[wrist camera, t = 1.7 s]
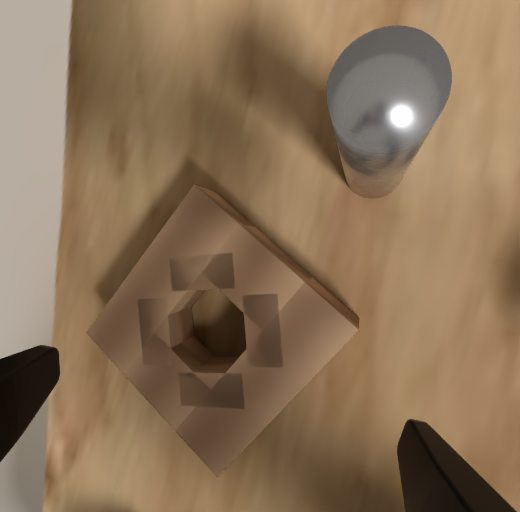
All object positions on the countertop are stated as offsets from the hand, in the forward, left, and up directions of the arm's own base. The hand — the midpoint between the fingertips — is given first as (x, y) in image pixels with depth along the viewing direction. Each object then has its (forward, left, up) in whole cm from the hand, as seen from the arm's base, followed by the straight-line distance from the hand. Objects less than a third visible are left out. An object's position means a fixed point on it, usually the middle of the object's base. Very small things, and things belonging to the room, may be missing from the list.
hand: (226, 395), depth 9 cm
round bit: (+2, -9, -13) cm, 16 cm away
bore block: (+3, +4, -13) cm, 14 cm away
